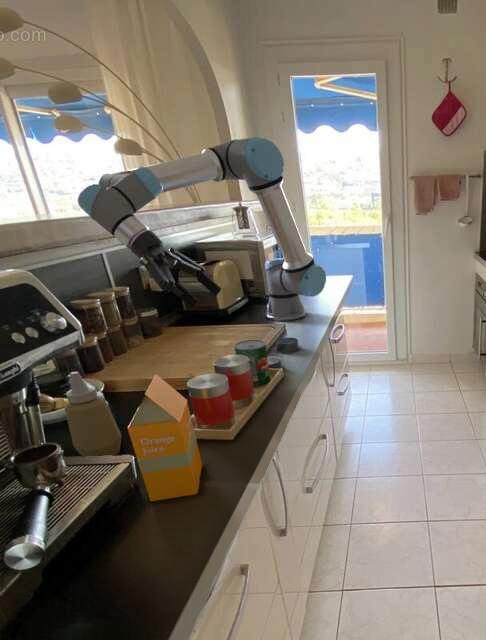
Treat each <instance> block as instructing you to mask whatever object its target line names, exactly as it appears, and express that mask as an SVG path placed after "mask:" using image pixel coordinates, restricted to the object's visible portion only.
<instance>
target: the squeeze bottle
mask: <svg viewBox="0 0 486 640" xmlns="http://www.w3.org/2000/svg"><path fill="white" fill-rule="evenodd" d="M70 386H71V389H69V390H68V391H67V392H66V393H65V396H66V399H67V401H68V402H67V403H66V404H65V406H64V411H65V415H66V420H67V424H68V428H69V432H70V437H71V441H72V445H73V447H74V449H75V450H76V451H77V453H78V454H80V455H81V457H83V456H103V455H115V456H116V455H118V453H120V450H121V443H122V442H121V441H122V432H121V430H120V428H119V426H118V424H117V422H116V419H115V417H114V415H113V414H112V411H110V410H111V408H110V409H109V407H110V406H109V407H108V405H107V403H106V401H107V400H106V399H105V396H104V397H101V396H98V395H97V392H98V391H97V390H96V389H97V388H96V387H95V386H93V385H87V383H86V382H85V381H84V379H83V377H82V376H81V374H80V373H79V371H72V372H70ZM105 400H106V401H105Z"/></svg>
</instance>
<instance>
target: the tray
mask: <svg viewBox="0 0 486 640" xmlns="http://www.w3.org/2000/svg"><path fill="white" fill-rule="evenodd" d="M269 371H270V379H271V381H270V382H269V383H268V385H266V386H264V387H260V388H254V394H255V400H254V401H253V402H252V403H251V405H250V406H248V407H245V408H241V409H234V415H235V420H236V422H235V424H234V425H233V426H232V427H231V428H230V429H229V430H216V429H198V428H197V424H196V421H195V417H194V413H193V414H192V415H190V416H191V420H192V424H193V428H194V432H195V436H196V439H197V440H199V439H200V440H201V439H203V440H228V441H229V440H230V441H232V440H234V438H235V437H236V436H237V434H238V433H239V432H240V431H241V429H243V427H244V426H245V425H246V424H247V422H248V421H249V420H250V419H251V417H252V416H253V414H254V413H255V412H256V411H257V410H258V408H259V407H260V406H261V404H262V403H263V402H264V401H265V400H266V398H267V397H268V396H269V395H270V394H271V392H272V391H273V389H274V388H275V387H276V386H277V385H278V384H279V382H280V381H281V379H283V377H284V376H285V375H284V369H283V368H282V369H271V368H269Z"/></svg>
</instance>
